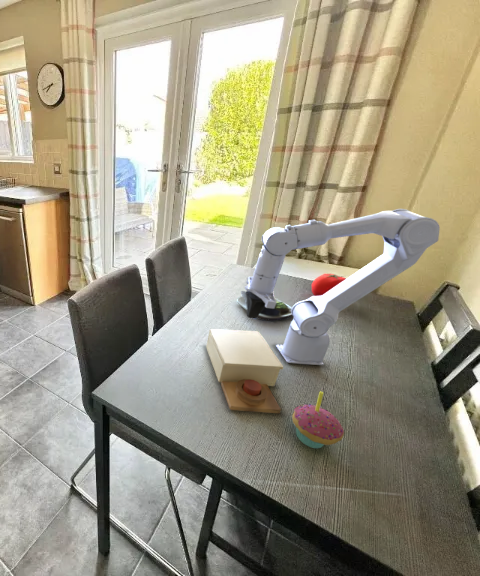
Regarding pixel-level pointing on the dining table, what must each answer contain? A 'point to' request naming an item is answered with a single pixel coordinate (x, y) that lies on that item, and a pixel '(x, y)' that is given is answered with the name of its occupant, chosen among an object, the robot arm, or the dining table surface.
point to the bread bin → (238, 369)
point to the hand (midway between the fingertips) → (251, 317)
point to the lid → (244, 349)
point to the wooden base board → (249, 398)
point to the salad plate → (269, 309)
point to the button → (252, 387)
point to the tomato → (325, 283)
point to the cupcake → (316, 425)
